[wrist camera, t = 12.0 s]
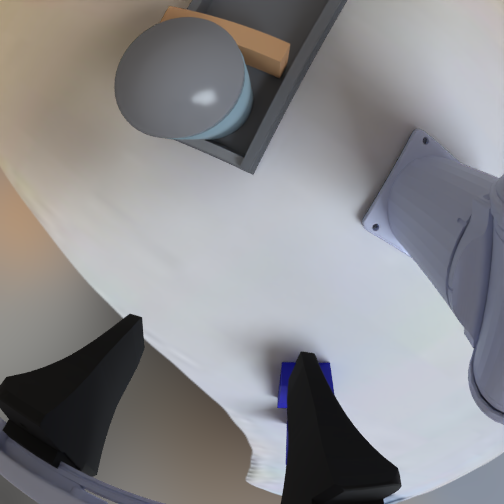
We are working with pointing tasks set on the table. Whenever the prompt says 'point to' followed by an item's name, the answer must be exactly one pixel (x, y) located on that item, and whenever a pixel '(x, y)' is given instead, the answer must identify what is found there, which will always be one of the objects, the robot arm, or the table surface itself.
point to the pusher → (246, 42)
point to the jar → (184, 81)
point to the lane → (265, 85)
